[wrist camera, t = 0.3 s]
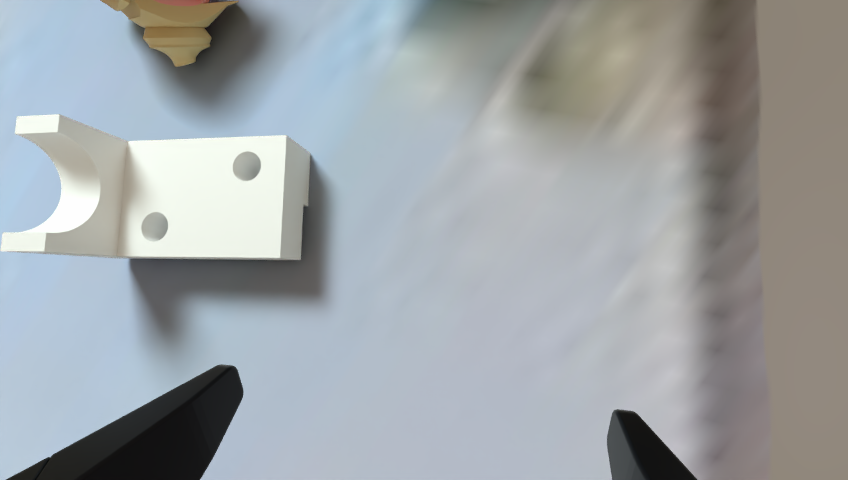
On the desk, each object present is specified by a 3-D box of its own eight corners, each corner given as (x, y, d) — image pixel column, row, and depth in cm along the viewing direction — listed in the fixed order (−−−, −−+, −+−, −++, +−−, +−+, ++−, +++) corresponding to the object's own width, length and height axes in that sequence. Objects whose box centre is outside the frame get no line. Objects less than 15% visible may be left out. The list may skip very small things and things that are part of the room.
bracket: (130, 258, 28) (0, 251, 20) (138, 159, 28) (16, 116, 21) (307, 260, 26) (236, 253, 18) (312, 154, 26) (246, 105, 19)
